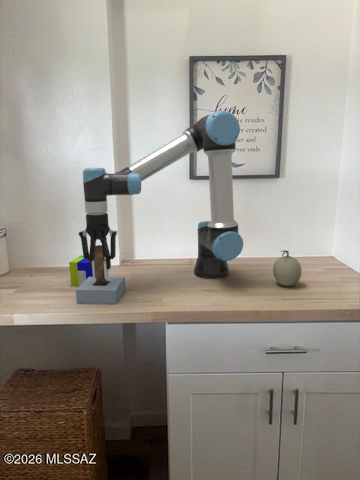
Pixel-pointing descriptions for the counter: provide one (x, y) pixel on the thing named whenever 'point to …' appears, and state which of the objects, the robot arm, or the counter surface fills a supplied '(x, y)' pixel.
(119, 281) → the socket block
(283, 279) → the fruit
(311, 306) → the counter surface
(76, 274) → the puzzle toy
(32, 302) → the counter surface
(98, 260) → the dowel
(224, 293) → the counter surface
